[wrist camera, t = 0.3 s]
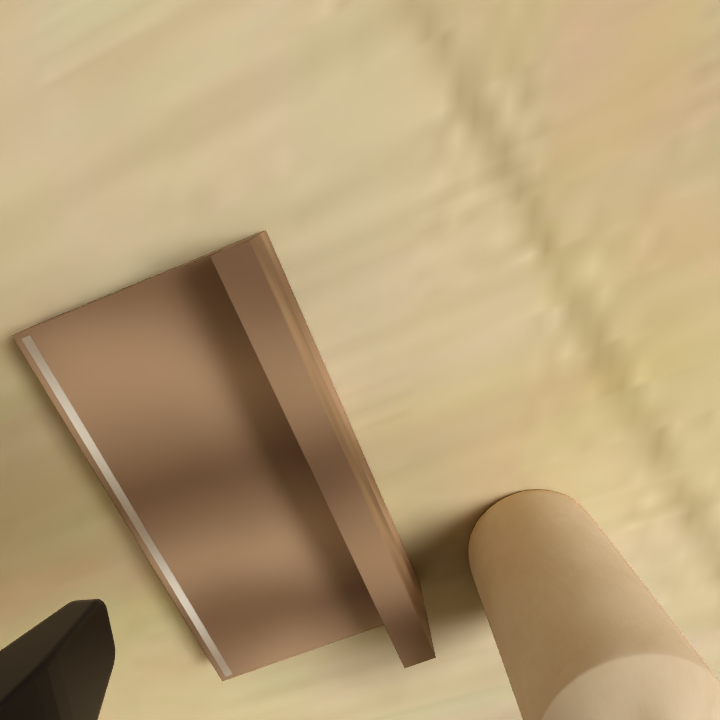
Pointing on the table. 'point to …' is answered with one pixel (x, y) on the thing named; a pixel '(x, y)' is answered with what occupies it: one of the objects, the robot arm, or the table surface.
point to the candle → (580, 619)
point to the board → (232, 459)
